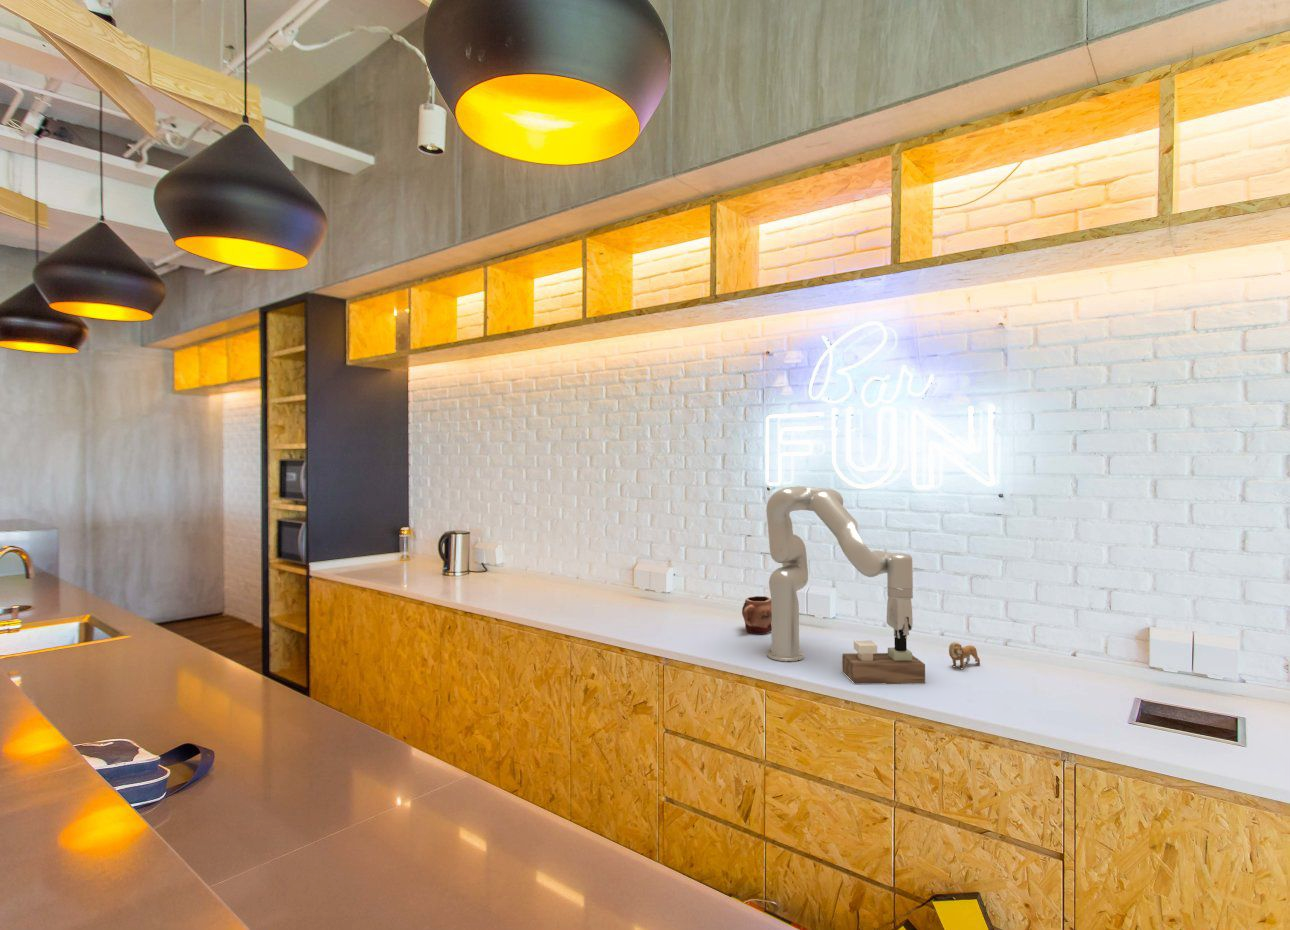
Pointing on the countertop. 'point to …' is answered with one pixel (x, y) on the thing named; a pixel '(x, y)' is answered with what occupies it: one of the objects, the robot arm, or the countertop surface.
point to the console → (883, 669)
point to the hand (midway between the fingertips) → (900, 650)
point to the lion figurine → (962, 653)
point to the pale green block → (899, 654)
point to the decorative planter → (757, 614)
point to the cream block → (865, 650)
